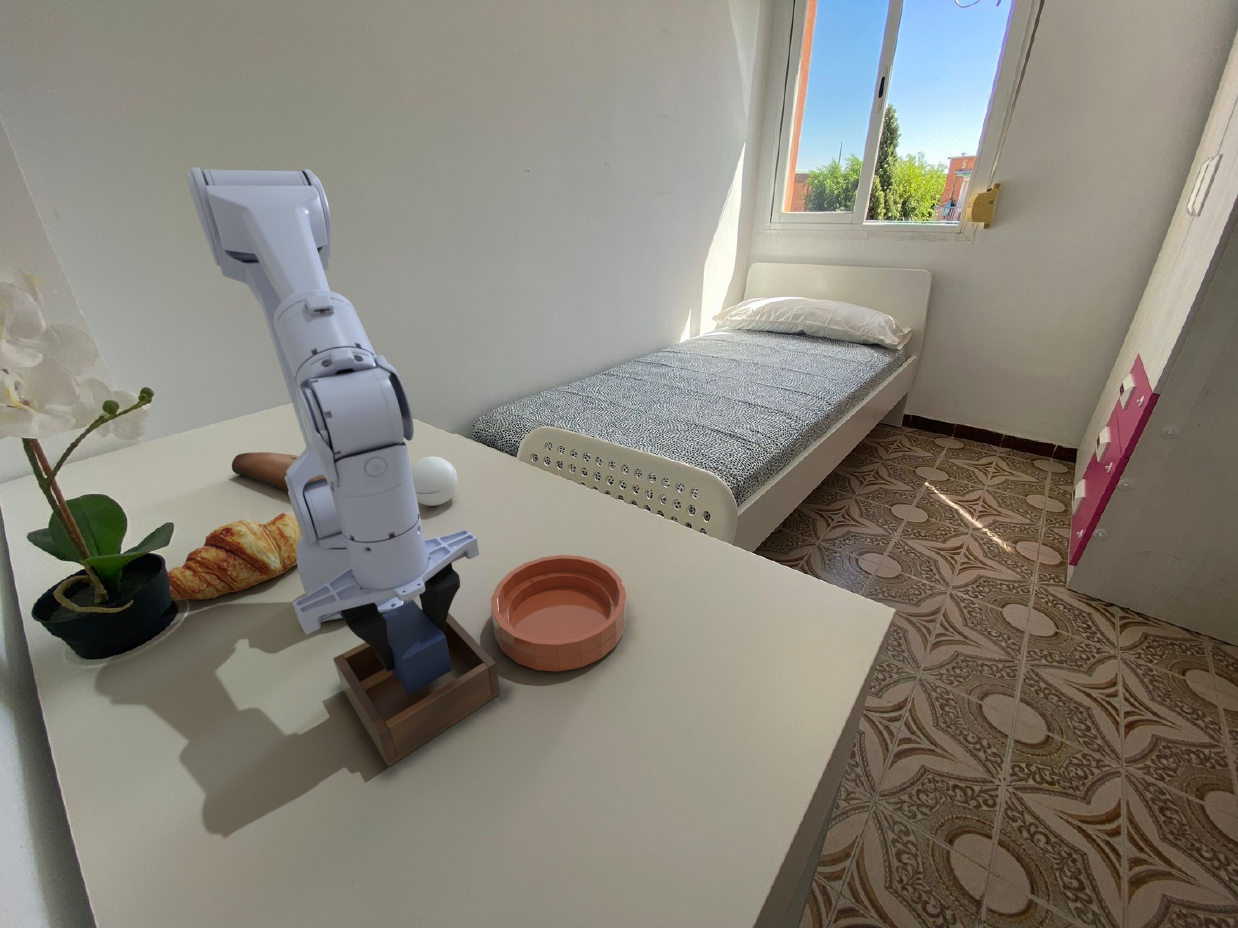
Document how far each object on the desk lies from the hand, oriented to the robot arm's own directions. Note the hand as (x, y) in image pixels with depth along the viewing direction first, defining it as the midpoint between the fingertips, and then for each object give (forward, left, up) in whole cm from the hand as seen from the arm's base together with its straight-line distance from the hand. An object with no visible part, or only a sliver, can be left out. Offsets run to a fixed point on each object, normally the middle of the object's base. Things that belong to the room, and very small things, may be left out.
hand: (411, 649), depth 49 cm
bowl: (+14, +6, -5) cm, 16 cm away
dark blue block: (0, 0, -1) cm, 1 cm away
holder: (0, 0, -5) cm, 5 cm away
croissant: (-21, +24, -6) cm, 32 cm away
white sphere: (-2, +35, -6) cm, 35 cm away
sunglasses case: (-24, +49, -6) cm, 55 cm away
